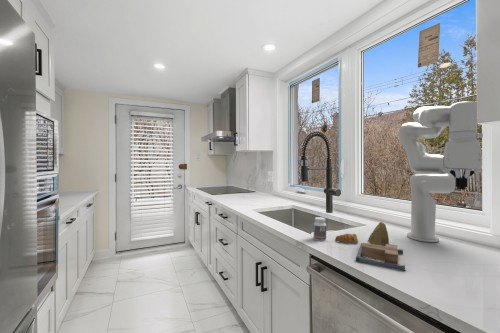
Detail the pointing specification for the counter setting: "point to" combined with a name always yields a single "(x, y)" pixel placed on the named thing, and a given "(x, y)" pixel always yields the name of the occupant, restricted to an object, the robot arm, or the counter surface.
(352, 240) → the pastry
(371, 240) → the rock
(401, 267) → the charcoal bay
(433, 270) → the counter surface
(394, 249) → the t block
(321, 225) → the pill bottle
